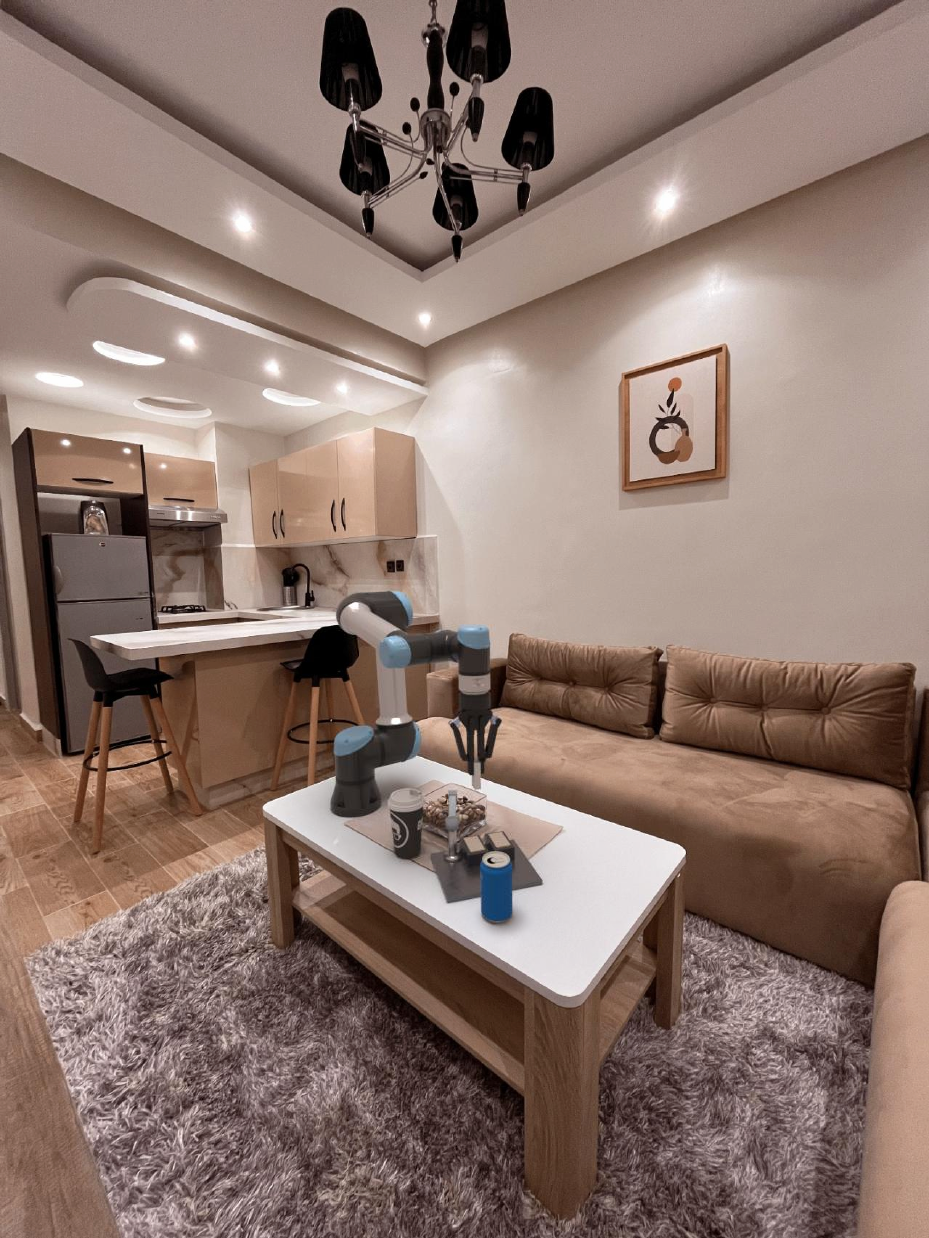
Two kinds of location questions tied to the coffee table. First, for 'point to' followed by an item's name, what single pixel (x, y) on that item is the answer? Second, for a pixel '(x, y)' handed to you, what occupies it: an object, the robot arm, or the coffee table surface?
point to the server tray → (478, 865)
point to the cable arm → (452, 811)
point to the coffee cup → (406, 821)
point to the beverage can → (496, 886)
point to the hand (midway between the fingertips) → (476, 787)
